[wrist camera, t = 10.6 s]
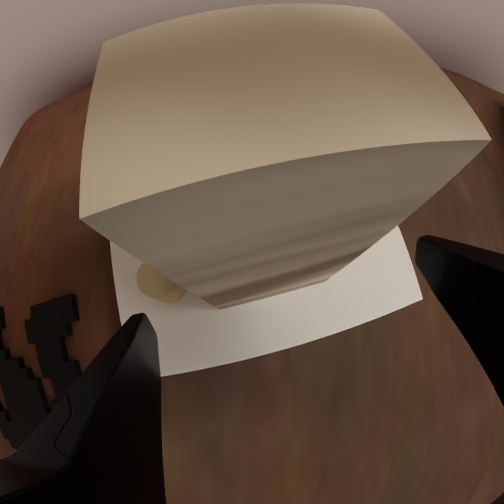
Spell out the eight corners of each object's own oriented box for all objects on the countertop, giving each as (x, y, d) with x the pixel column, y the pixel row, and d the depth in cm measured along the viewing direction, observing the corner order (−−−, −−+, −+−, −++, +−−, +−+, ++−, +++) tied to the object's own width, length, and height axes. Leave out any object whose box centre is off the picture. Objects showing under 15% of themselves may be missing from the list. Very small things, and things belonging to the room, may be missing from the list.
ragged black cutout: (-18, 315, 17) (87, 564, 9) (-24, 314, 16) (83, 568, 8) (95, 277, 18) (222, 581, 10) (88, 274, 17) (221, 587, 9)
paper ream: (324, 281, 16) (492, 139, 3) (220, 309, 15) (79, 219, 3) (302, 214, 17) (374, 6, 4) (203, 238, 16) (104, 38, 4)
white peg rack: (407, 302, 17) (445, 293, 13) (146, 375, 16) (114, 387, 12) (359, 174, 20) (380, 138, 15) (120, 232, 19) (90, 207, 14)
